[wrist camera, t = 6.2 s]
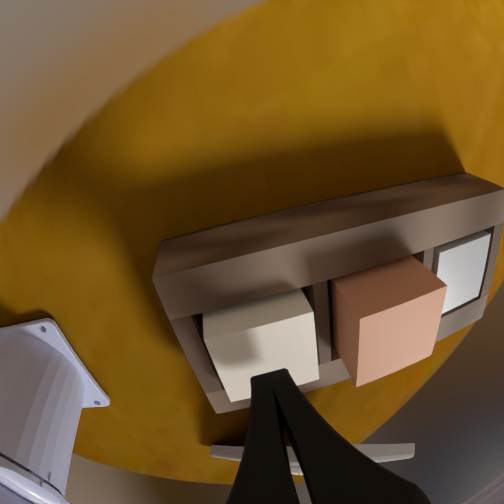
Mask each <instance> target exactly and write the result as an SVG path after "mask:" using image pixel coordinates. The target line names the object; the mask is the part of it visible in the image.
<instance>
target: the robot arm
mask: <svg viewBox="0 0 504 504" xmlns="http://www.w3.org/2000/svg"><path fill="white" fill-rule="evenodd" d="M42 326H43V327H45V328H46V329H45V328H43V327H42ZM250 383H251V404H250V415H249V423H248V430H247V436H246V441H245V446H244V450H243V455H242V459H241V462H240V466H239V469H238V472H237V475H236V478H235V481H234V484H233V487H232V490H231V492H230V495H229V497H228V500H227V502H226V504H300V502H299V499H298V496H297V493H296V489H295V485H294V482H293V478H292V474H291V469H290V463H289V458H288V452H287V446H286V441H285V435H284V430H283V427H284V429H285V432H286V434H287V437H288V439H289V442H290V444H291V446H292V449H293V451H294V454H295V456H296V459H297V461H298V463H299V466H300V468H301V471H302V474H303V476H304V479H305V483H306V486H307V489H308V492H309V495H310V499H311V502H312V504H431V503H430V501H429V499H428V498H427V496H426V495H425V494H424V492H423V491H422V490H421V489H420V488H419V487H418V486H417V485H416V484H414V483H412V482H410V481H408V480H406V479H404V478H402V477H400V476H398V475H396V474H394V473H393V472H391V471H389V470H387V469H386V468H384V467H382V466H381V465H379V464H378V463H376V462H375V461H373V460H372V459H370V458H369V457H367V456H366V455H365V454H363V453H362V452H360V451H359V450H358V449H356V448H355V447H354V446H353V445H351V444H350V443H349V442H348V441H347V440H345V439H344V438H343V437H342V436H341V435H340V434H339V433H338V432H336V431H335V430H334V429H333V428H332V427H331V426H330V425H329V424H328V423H327V422H326V421H325V420H324V419H323V417H322V416H321V415H320V414H319V413H318V412H317V411H316V410H315V408H314V407H313V406H312V405H311V404H310V403H309V401H308V400H307V399H306V398H305V396H304V395H303V394H302V392H301V391H300V389H299V388H298V387H297V385H296V383H295V382H294V380H293V379H292V377H291V375H290V373H289V371H288V369H286V368H283V369H279V370H275V371H272V372H268V373H264V374H260V375H256V376H252V377H251V378H250ZM109 404H110V399H109V397H108V396H107V395H106V394H105V392H104V391H103V390H102V389H101V387H100V386H99V385H98V383H97V382H96V381H95V379H94V378H93V377H92V375H91V374H90V373H89V371H88V370H87V369H86V367H85V366H84V365H83V363H82V362H81V360H80V359H79V357H78V356H77V355H76V353H75V352H74V350H73V349H72V347H71V346H70V344H69V343H68V341H67V340H66V338H65V336H64V335H63V333H62V332H61V330H60V329H59V327H58V325H57V324H56V322H55V321H54V320H52V319H50V318H44V319H40V320H35V321H31V322H26V323H21V324H17V325H12V326H7V327H3V328H0V504H71V503H69V502H67V501H66V500H65V499H64V497H65V490H66V483H67V477H68V471H69V466H70V460H71V455H72V450H73V445H74V440H75V436H76V431H77V427H78V422H79V418H80V414H81V410H82V408H86V407H102V406H108V405H109ZM463 504H504V472H503V473H502V474H501V475H500V476H498V478H496V479H495V480H494V481H493V482H491V483H490V484H489V485H488V486H486V487H485V488H484V489H482V490H481V491H480V492H478V493H477V494H475V495H474V496H473V497H471V498H470V499H468V500H467V501H466V502H464V503H463Z"/></svg>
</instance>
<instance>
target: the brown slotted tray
mask: <svg viewBox="0 0 504 504" xmlns="http://www.w3.org/2000/svg"><path fill="white" fill-rule="evenodd" d="M503 219H504V188H503V187H501V186H499V185H496V184H494V183H492V182H489V181H487V180H484V179H482V178H479V177H477V176H474V175H472V174H469V173H460V174H454V175H449V176H443V177H438V178H433V179H427V180H422V181H417V182H412V183H407V184H402V185H397V186H392V187H387V188H382V189H377V190H372V191H367V192H363V193H358V194H353V195H348V196H344V197H339V198H335V199H330V200H326V201H321V202H317V203H312V204H308V205H303V206H299V207H295V208H290V209H286V210H282V211H278V212H273V213H269V214H265V215H261V216H257V217H253V218H248V219H244V220H240V221H236V222H232V223H228V224H224V225H220V226H216V227H212V228H208V229H205V230H201V231H197V232H193V233H189V234H185V235H182V236H178V237H174V238H170V239H167V240H163V241H161V245H160V248H159V252H158V255H157V259H156V263H155V267H154V271H153V274H152V278H151V279H152V281H153V284H154V286H155V289H156V291H157V293H158V296H159V298H160V300H161V303H162V305H163V307H164V310H165V312H166V314H167V316H168V319H169V321H170V323H171V325H172V327H173V330H174V332H175V334H176V336H177V338H178V340H179V342H180V344H181V347H182V349H183V351H184V353H185V355H186V357H187V359H188V361H189V363H190V365H191V367H192V369H193V371H194V373H195V375H196V377H197V379H198V381H199V383H200V384H201V386H202V388H203V390H204V392H205V394H206V396H207V398H208V399H209V401H210V403H211V405H212V407H213V409H214V410H215V412H216V414H219V413H224V412H229V411H234V410H239V409H243V408H248V407H250V404H251V398H248V399H243V400H239V401H234V402H231V401H230V399H229V397H228V395H227V392H226V390H225V388H224V386H223V383H222V381H221V379H220V377H219V374H218V372H217V370H216V368H215V365H214V363H213V361H212V358H211V356H210V354H209V351H208V349H207V346H206V344H205V342H204V334H203V312H207V311H211V310H216V309H220V308H224V307H228V306H232V305H236V304H240V303H244V302H248V301H252V300H256V299H260V298H264V297H267V296H271V295H275V294H279V293H283V292H286V291H290V290H294V289H297V288H301V290H302V291H303V293H304V295H305V297H306V299H307V301H308V303H309V304H310V306H311V308H312V310H313V313H314V323H315V334H316V345H317V357H318V370H319V379H318V380H315V381H312V382H308V383H305V384H302V385H298V386H297V387H298V388H299V389H300V391H301V392H302V393H305V392H309V391H312V390H315V389H318V388H322V387H325V386H328V385H331V384H334V383H337V382H340V381H343V380H346V379H348V378H351V377H350V375H349V373H348V371H347V369H346V367H345V365H344V363H343V361H342V359H341V358H340V356H339V354H338V352H337V350H336V348H335V346H334V338H333V315H332V297H331V282H330V279H333V278H336V277H340V276H343V275H347V274H350V273H353V272H357V271H360V270H363V269H367V268H370V267H373V266H377V265H380V264H383V263H386V262H389V261H393V260H396V259H399V258H402V257H405V256H408V255H412V256H413V257H414V258H416V259H417V260H418V261H419V262H421V263H422V264H423V265H424V266H425V267H427V268H428V269H429V270H430V271H431V269H432V261H433V251H434V247H436V246H438V245H441V244H444V243H447V242H450V241H453V240H456V239H459V238H462V237H464V236H467V235H470V234H473V233H476V232H478V231H481V230H485V231H486V232H488V233H490V234H491V235H490V241H489V247H488V253H487V259H486V264H485V269H484V273H483V278H482V282H481V286H480V291H479V295H478V296H477V297H475V298H473V299H471V300H469V301H467V302H465V303H463V304H461V305H459V306H457V307H455V308H453V309H451V310H449V311H447V312H445V313H443V314H442V315H441V319H440V324H439V328H438V332H437V336H436V340H435V342H437V341H439V340H441V339H443V338H445V337H447V336H449V335H450V334H452V333H454V332H456V331H458V330H460V329H462V328H464V327H466V326H467V325H469V324H471V323H473V322H475V321H476V320H478V319H480V318H481V317H482V315H483V311H484V308H485V305H486V301H487V297H488V294H489V290H490V286H491V282H492V278H493V274H494V269H495V265H496V260H497V255H498V250H499V245H500V239H501V233H502V226H503Z"/></svg>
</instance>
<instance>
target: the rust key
mask: <svg viewBox="0 0 504 504" xmlns="http://www.w3.org/2000/svg"><path fill="white" fill-rule="evenodd" d="M330 282H331V297H332V315H333V338H334V346H335V348H336V350H337V352H338V354H339V356H340V358H341V359H342V361H343V363H344V365H345V367H346V369H347V371H348V373H349V375H350V377H351V378H352V380H353V382H354V384H355V386H356V387H358V386H361V385H363V384H366V383H369V382H371V381H374V380H376V379H379V378H381V377H384V376H386V375H388V374H391V373H393V372H395V371H398V370H400V369H402V368H405V367H407V366H409V365H411V364H413V363H416V362H418V361H420V360H422V359H424V358H426V357H428V356H430V355H431V354H432V351H433V347H434V343H435V340H436V336H437V332H438V328H439V324H440V319H441V315H442V310H443V306H444V301H445V296H446V291H447V285H446V284H445V283H444V282H443V281H442V280H441V279H440V278H438V277H437V276H436V275H435V274H434V273H432V272H431V271H430V270H429V269H428V268H427V267H425V266H424V265H423V264H422V263H421V262H419V261H418V260H417V259H416V258H414V257H413V256H412V255H408V256H405V257H402V258H399V259H396V260H393V261H389V262H386V263H383V264H380V265H377V266H373V267H370V268H367V269H363V270H360V271H357V272H353V273H350V274H347V275H343V276H340V277H336V278H333V279H330Z"/></svg>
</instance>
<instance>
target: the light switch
mask: <svg viewBox="0 0 504 504" xmlns="http://www.w3.org/2000/svg"><path fill="white" fill-rule="evenodd" d="M351 445H353V446H354V447H355V448H356V449H358V450H359V451H360V452H362V453H363V454H365V455H366V456H367V457H369V458H370V459H372V460H373V461H375V462H384V461H393V460H400V459H407V458H411V457H413V456H414V451H415V448H414V447H415V444H414V443H409V444H377V445H375V444H351ZM243 450H244V447H239V446H220V445H211V450H210V455H211V456H213V457H218V458H224V459H231V460H238V461H241V459H242V455H243ZM287 452H288V458H289V463H290V469H291V474H295V475H303V474H302V471H301V468H300V466H299V463H298V461H297V459H296V456H295V454H294V451H293V449H292V447H287Z"/></svg>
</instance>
